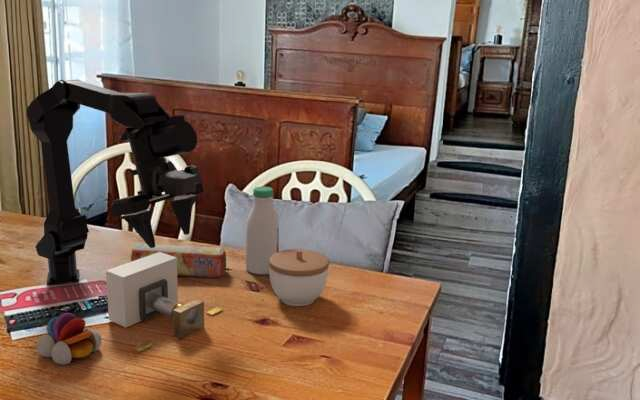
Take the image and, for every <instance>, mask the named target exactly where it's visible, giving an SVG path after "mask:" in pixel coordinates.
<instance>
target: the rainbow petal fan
mask: <svg viewBox="0 0 640 400" xmlns="http://www.w3.org/2000/svg"><path fill="white" fill-rule="evenodd" d="M85 327H86V321H85V320H84V318H81V317H77V316H76V315H75V314H74V313H71V312H63V313H61V314H60V315H58V316H55V317H52V318H51V319H50V320H49V321H48V323H47V325H46V332H47V333H44V334H42V335H41V336H40V337H39V338H38V339H37V342H36V344H35V345H36V350H37V353H38V354H39V355H40V356H41V357H44V358H51V359H52V361H54V363H56V364H58V365H63V366H64V365H69V364H70V363H71V361H72V358H76V359H79V358H85V357H88V356H89V355H90V354H91V353H92V352H93V353H94V352H96V351H98V349H99V348H100V347H101V345H102V340H103V339H102V335H101V334H100V332H99V331H98V330H96V329H92V328H88V329H86V328H85Z"/></svg>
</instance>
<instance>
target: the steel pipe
mask: <svg viewBox="0 0 640 400" xmlns="http://www.w3.org/2000/svg"><path fill="white" fill-rule="evenodd" d="M145 298H146V307H149V308H151V309H153V310H156V311H158V312H160V313H161V314H163V315H165V316H168V317H171V318H172V319H173V321H172V322H173V338H175V337H176V339H177V338H179V339H182V340H184V339H186V338H188V337H189V335H190V336H191V334H192V335H193V333H194V332H195V333H197V332H199V331H201V330H202V329H205V301H203V300H201V299H198V298H196V299H194V300H192V301H189V302H187V303H183V302H179V301H178V302H176V301H174V300H171V299H169V298H166V297H164V296H161V295H159V294H156V293H154V292H151V291H149V292H146V293H145ZM223 311H224V310H223V309H222V308H219V307H214V308H212V309H211V310H208V311H206V315H208V316H211V317H213V316H215V315H217V314H219V313H221V312H223ZM195 333H194V334H195ZM187 336H188V337H187ZM185 337H186V338H185ZM183 338H184V339H183ZM179 339H178V340H179ZM151 347H154V344H153V343H151V342H149V341H145V342H143V343H140V344H139V345H136V346H135V347H133V349H132V350H134V351H135V352H137V353H142V352H143V351H145V350H148V349H150V348H151Z"/></svg>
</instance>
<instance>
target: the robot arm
mask: <svg viewBox="0 0 640 400" xmlns="http://www.w3.org/2000/svg"><path fill="white" fill-rule="evenodd" d="M81 106H84V107H88V108H91V109H94V110H97V111H99V112H104V113H106V114H108V115H109V116H110V118H111V120H112V121H114V122H116V123H118V124H119V125H120V126H121V125H122V126H123V127H125V130H124V133H123V134H122V135H121V137H120V139H119V141H120V142H128V143H129V145H130V149H131V154H132V158H133V161H134V165H135V169H132V170H131V172H132V176H137V178H138V182H139V185H140V189H141V190H139V191H137V193H136V195H135V194H134V195H129V196H127V197H123V198H118V199H114V200H112V204H111V206H110V208H111V213H112V216H113V217H119V220H124V221H125V222H126V223H127V224H128V225H129V226H130V227H131V228H133V230H134V231H135V232H136V233H137V234H138V235H139V236H140V238H141V239H142V240H143V241H144V243H145V244H147V245H148V246H149V247H150V248H154V247H155V244H156V242H155V240H156V238H155V235H154V232H153V231H154V230H153V226H152V223H151V218H152V214H153V209H150V210H149V207H150V205H153V204H156V203H161V202H163V201H167V200H170V199H173V200H170V201H169V204H170V206H171V208H172V211H173V213H174V215H175V217H176V220H177V222H178V224H179V227H180V229H181V231H182V232H183V233H182V234H184V236H185V235H186V236H187V235H189V234H190V233H191V221H192V213H193V212H192V211H193V207H194V204H195V203H196V201H197V200H198V199H200V197H201V195H200V194H202V193H204V192H205V191H204V187H203V183H202V182H201V174H200V171H199V168H198V166H196V165H193V164H192V165H191V164H190V165H187V166H185V167H184V169H180V170H178V169H177V170H176V169H175V166H174V163H172V161H169V162H168V161H167V158H166V157H173V156H178V155H182V154H187V153H191V152H193V151H194V150H195V149H196V147H197V144H198V133H197V131H196V130H195V128H194V127H193V126H192V124H191V123H189V122H188V121H187V120H185V115H184V114H178V115H177V114H175V115H173V116H171V115H170V114H169V113H168V112H167V110H165V109H164V108H163V107H162V106H161V104H159V102H158V101H157V98H156V96H155V95H154V94H152V93H150V92H149V93H148V92H119V91H116V90H113V89H108V88H105V87H103V86H99V85H96V84H92V83H91V84H90V83H87V82H85V81H83V80H80V79H78V78H72V79H71V78H70V79H59V80H57V81H55V83H54V84H53V85H52V86H51V87H50V88H48V89H47V90H45V91H44V92H42V93H41V94H39V95H37V96H36V97H35V98H34V99H33V100H32V101H30V104H29V105H28V106H27V107H26V117H27V119H28V124H29V127H30V131H31V132H32V133H33V135H34V136H35V137H36V138H37V139H38V140H39V141H38V142H40V145H41V152H42V153H41V154H42V158H43V167H44V173H45V174H44V175H45V181H46V182H45V183H46V188H47V197H48V205H49V211H48V214H47V215H46V218H45V220H44V222H43V235H42V237H41V238H40V240H39V241H38V242H37V244H36V245H35V250H36V253H37V255H38V256H39V257H42V258H45V259H47V265H48V272H47V276H46V277H47V278H46V285H48V286H49V285H50V286H51V285H59V283H60V284H68V283H67V282H70V283H78V282H79V281H80V269H78V268H77V255H76V254H77V253H76V252H77V251H81V250H84V249H85V246H86V241H87V240H88V235H89V234H88V233H90V230H89V227H88V217H87V215H85V214H82V213H81V212H80V211H79V210H78V208H77V207H76V204H75V203H76V202H75V194H74V189H73V187H74V186H73V180H72V179H73V178H72V172H71V164H70V162H71V161H70V154H69V148H68V139H69V137H70V135H71V133H72V131H73V128H74V115H76V113H77V112H78V111H80V110H81Z"/></svg>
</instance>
